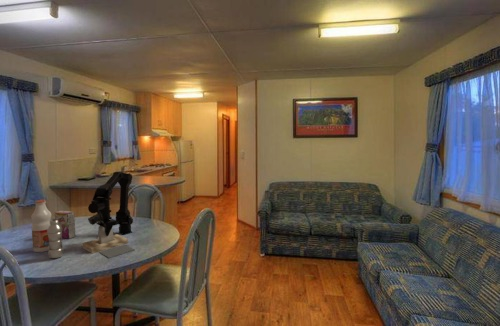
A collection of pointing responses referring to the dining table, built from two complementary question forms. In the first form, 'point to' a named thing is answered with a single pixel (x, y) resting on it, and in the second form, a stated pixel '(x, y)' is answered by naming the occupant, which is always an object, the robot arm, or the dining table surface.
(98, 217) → the robot arm
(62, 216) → the candy bar box
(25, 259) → the dining table surface
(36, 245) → the fruit juice
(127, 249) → the mat
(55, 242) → the plastic bottle
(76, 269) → the dining table surface
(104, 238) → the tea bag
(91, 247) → the holder
